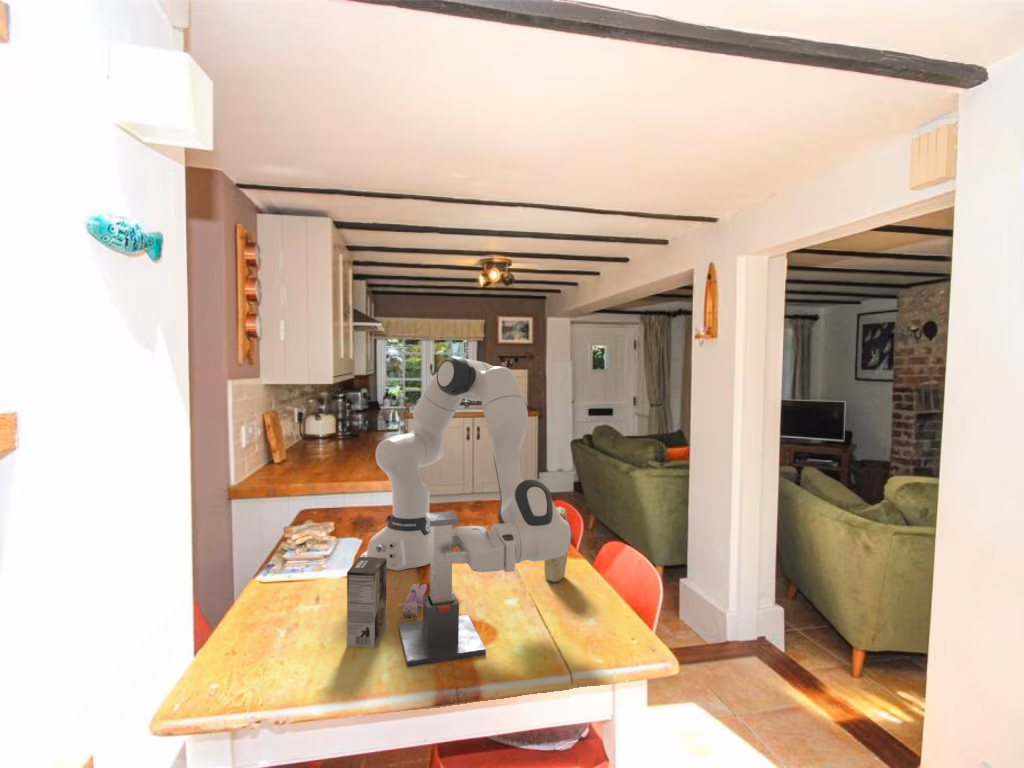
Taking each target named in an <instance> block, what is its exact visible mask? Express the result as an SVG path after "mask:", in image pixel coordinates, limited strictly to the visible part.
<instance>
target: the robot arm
mask: <svg viewBox="0 0 1024 768" xmlns="http://www.w3.org/2000/svg"><path fill="white" fill-rule="evenodd" d="M463 399H464V400H468V401H477V402H481V407H482V411H483V415H484V419H485V423H486V427H487V431H488V436H489V439H490V446H491V449H492V453H493V461H494V462H493V463H494V467H495V472H496V473H495V474H496V479H497V485H498V490H499V506H498V512H497V520H498V523H493V524H492V525H491V527H490V530H488V529H487V528H486V527H485V526H482V525H462V526H459V525H457V526H455V527H454V528H453V536H452V546H455V547H456V549H457V550H458V551H453V550H452V551H449V552H445V553H444V559H445V561H446V562H452V563H457V564H467V565H468V566H469V568H470V569H471V571H472V572H477V573H491V572H500V571H504V572H505V573H511V572H512V573H513V572H515V568H516V564H520V563H522V562H525V561H531V562H540V561H541V562H542V561H544V560H549V559H554V558H558V557H561V556H563V555H564V554H565V553H566V552H567V550H568V551H569V548H570V546H571V542H572V529H571V526H570V524H569V522H568V520H567V521H566V520H564V519H563V518H562V517H561V515H560V514H559V512H558V511H557V509H556V507H557V506H556V505H555V503H554V501H553V497H552V493H551V491H550V490H549V488H548V487H547V485H545V483H543V482H541V481H540V480H537V479H525V480H523V476H522V471H521V466H520V464H521V463H520V454H521V449H522V445H523V442H524V441H525V436H526V435H527V431H528V429H529V414H528V407H527V404H526V401H525V400H526V399H525V397H524V393H523V391H522V389H521V386H520V384H519V382H518V380H517V377H516V376H515V374H514V372H513V371H512V370H511V369H510V368H508V367H506V366H502V365H501V366H500V365H499V366H496V365H491V364H489V363H487V362H484V361H481V360H474V359H470V358H468V359H467V358H464V357H461V356H449V357H447V358H445V359H444V360H443V361H442V362H441V363H440V365H439V366H438V367H437V371H436V372H435V374H434V375H433V376H432V378H431V380H430V381H429V382H428V384H427V385H426V387H425V389H424V391H423V393H422V394H421V396H420V398H419V400H418V401H417V404H416V405H415V407H414V408H413V410H412V416H413V420H414V421H415V424H414V426H413V428H412V430H411V431H410V432H408V433H402V434H395V435H392V436H390V437H389V436H388V437H387V438H386V439H383V440H381V441H380V442H379V443H378V444H377V446H376V448H375V462H376V464H377V466H378V467H379V468H380V469H381V470H382V471H383V472H384V473H385V474H386V476H387V478H388V480H389V482H390V487H391V491H392V512H391V513H390V514H388V516H387V517H385V518H384V523H386V522H387V524H386V526H385V527H383V528H382V529H381V530H379V531H378V532H376V534H373V536H372V537H371V538H370V540H369V541H368V545H367V550H366V551H365V552H363V553H362V554H361V555H360V556H359V557H376V558H386V570H392V571H394V572H395V571H396V572H399V571H402V570H403V571H404V570H406V569H414V568H415V569H416V568H419V567H423V566H427V565H430V538H431V527H430V526H429V524H428V522H427V521H426V519H425V513H431V512H430V499H431V498H430V494H431V493H430V489H429V486H428V485H427V484H426V483H425V482H423V479H422V478H421V473H420V468H423V467H428V466H431V465H433V464H435V463H436V462H438V461H439V460H440V459H442V458H443V456H444V455H445V453H446V452H445V451H446V444H445V440H444V437H445V432H446V430H447V429H448V426H449V424H450V422H451V421H452V419H453V417H454V415H455V414H456V412H457V410H458V409H459V407H460V404H461V403H462V401H463Z"/></svg>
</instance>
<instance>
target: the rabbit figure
mask: <svg viewBox="0 0 1024 768" xmlns="http://www.w3.org/2000/svg"><path fill="white" fill-rule="evenodd" d="M427 589H428V585H427V584H426V583H424V584H421V586H420V584H419V583H414V584H412V585H411V587H410V589H409V592H408V594H407V595H406V597H405V599H404V601H405V603H401V604H398V607H399V608H402V607H403V608H402V612H401V616H400V621H404V620H405V619H406V618H408V617H410V621H411V622H414V621H415V619H414V618H416V617H417V615H418V607H421V609H423V595H426V594H425V593H426V592H427ZM404 618H405V619H404Z"/></svg>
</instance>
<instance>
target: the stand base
mask: <svg viewBox="0 0 1024 768" xmlns="http://www.w3.org/2000/svg"><path fill="white" fill-rule="evenodd" d="M429 594H430V593H429ZM429 594H428V593H427V594H424V595H423V604H422V605H423V608H422V620H417V621H413V622H412V621H411V622H401V623H398V626H397V627H398V630H397V631H398V632H399V638H400V642H401V646H402V650H403V654H404V655H403V656H404V658H405V664H406V667H407V668H411V667H417V666H423V665H424V666H425V665H429V664H436V663H442V662H443V663H444V662H448V661H455V660H460V659H469V658H473V657H481V656H485V655H486V654H487V653H486V651H487V650H486V647H485V645H484V643H483V641H482V640H481V637H480V635H479V634H478V632H477V630H476V628H475V626H474V624H473V623H472V620H471V618H470V616H469V614H463V615H460V612H459V611H460V603H459V601H458V599H457V598H456V595H455V594H454V592H453V590H452V600H453V601H452V603H449V604H441V605H433V606H431V605H430V600H429Z"/></svg>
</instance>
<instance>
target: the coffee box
mask: <svg viewBox="0 0 1024 768" xmlns="http://www.w3.org/2000/svg"><path fill="white" fill-rule="evenodd" d="M386 628H387V568H386V558H376V557H360V556H359V557H358V558H357V559H356V561H355V562H354V563H353V565H352V566H351V567H350V568H349V569H348V571H347V572H346V647H349V648H350V647H353V648H372V649H373V648H376V646H377V645H378V643H379V641H380V639H381V637H382V635H383V633H384V631H385V630H386Z"/></svg>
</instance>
